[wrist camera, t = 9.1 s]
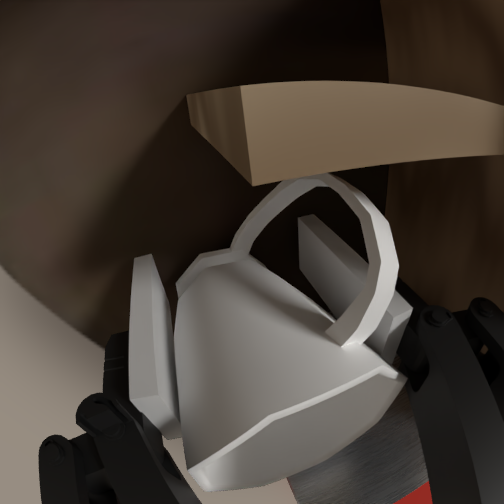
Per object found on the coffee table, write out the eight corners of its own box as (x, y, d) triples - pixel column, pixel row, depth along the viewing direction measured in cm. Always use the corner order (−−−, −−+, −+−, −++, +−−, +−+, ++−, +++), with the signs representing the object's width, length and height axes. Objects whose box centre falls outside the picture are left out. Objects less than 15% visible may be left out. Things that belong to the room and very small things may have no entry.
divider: (186, 94, 9) (239, 85, 3) (367, 82, 11) (528, 114, 4) (191, 124, 10) (252, 186, 3) (368, 106, 11) (525, 154, 5)
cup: (134, 339, 13) (167, 503, 6) (191, 120, 9) (343, 184, 3) (259, 344, 16) (330, 464, 10) (340, 176, 13) (494, 267, 6)
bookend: (235, 340, 16) (316, 539, 6) (368, 296, 18) (481, 436, 8) (241, 364, 18) (311, 538, 8) (363, 321, 19) (460, 452, 9)
